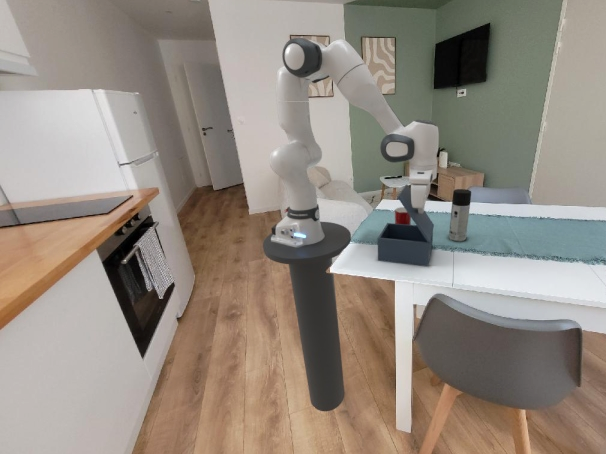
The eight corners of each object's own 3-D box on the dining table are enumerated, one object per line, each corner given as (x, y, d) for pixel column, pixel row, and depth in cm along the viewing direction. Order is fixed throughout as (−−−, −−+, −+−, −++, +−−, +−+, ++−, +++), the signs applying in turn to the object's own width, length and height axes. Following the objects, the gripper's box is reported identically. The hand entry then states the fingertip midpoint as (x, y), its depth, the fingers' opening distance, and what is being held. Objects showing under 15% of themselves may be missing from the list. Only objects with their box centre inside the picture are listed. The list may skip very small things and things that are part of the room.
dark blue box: (378, 260, 104) (377, 238, 101) (387, 243, 117) (387, 222, 114) (427, 266, 99) (429, 243, 96) (431, 247, 112) (433, 226, 108)
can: (393, 239, 120) (393, 211, 115) (396, 233, 125) (396, 206, 120) (408, 241, 118) (409, 212, 113) (411, 235, 123) (412, 207, 118)
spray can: (450, 234, 122) (454, 188, 115) (467, 236, 120) (472, 189, 112) (447, 240, 117) (451, 192, 109) (465, 243, 114) (470, 194, 106)
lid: (397, 197, 93) (399, 195, 93) (405, 185, 106) (407, 184, 105) (428, 242, 96) (430, 241, 95) (432, 226, 108) (434, 225, 108)
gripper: (417, 166, 105) (416, 202, 110) (408, 179, 87) (406, 222, 92) (435, 166, 103) (433, 203, 108) (429, 180, 85) (427, 223, 90)
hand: (421, 212), depth 100 cm, fingers closed, pressing on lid
